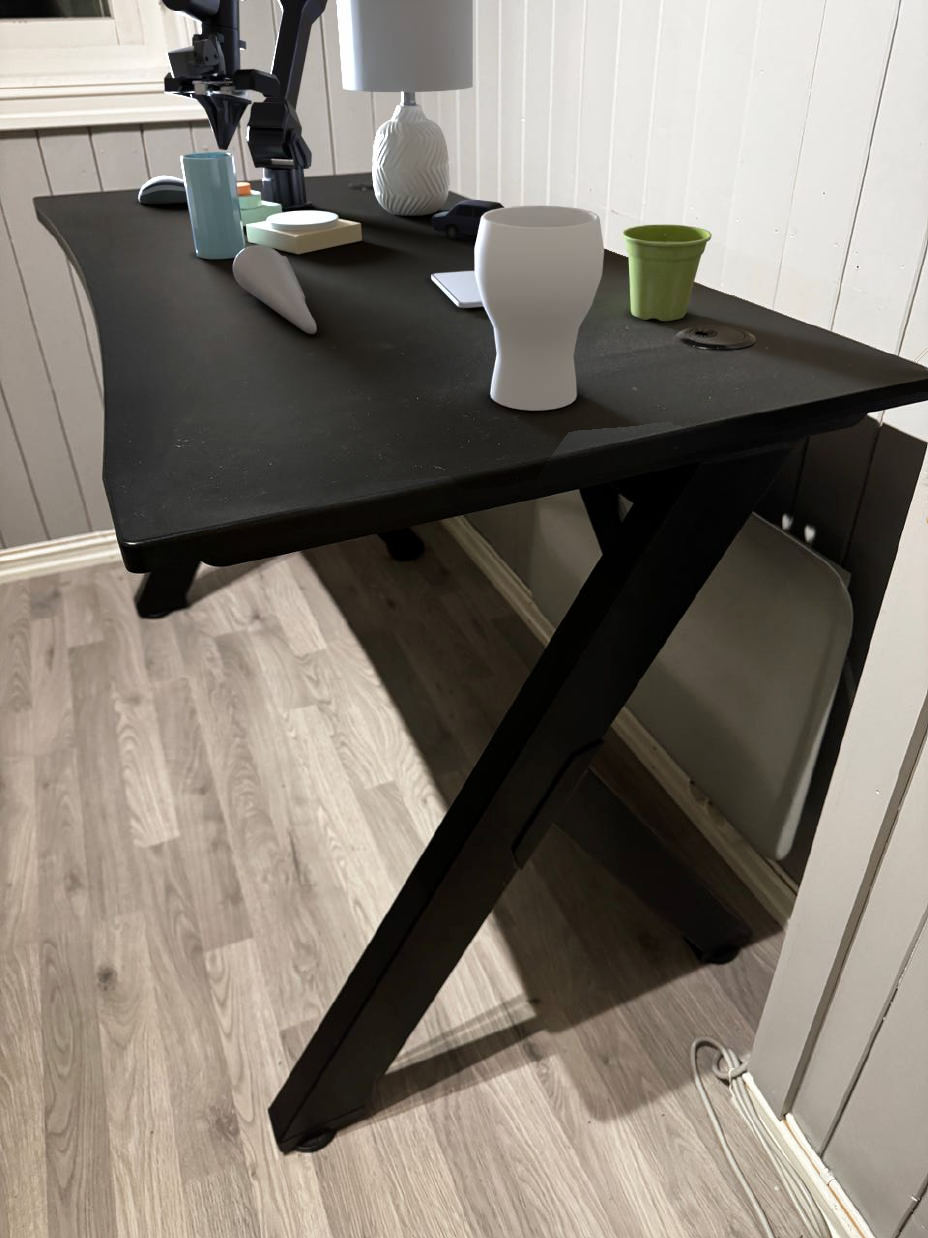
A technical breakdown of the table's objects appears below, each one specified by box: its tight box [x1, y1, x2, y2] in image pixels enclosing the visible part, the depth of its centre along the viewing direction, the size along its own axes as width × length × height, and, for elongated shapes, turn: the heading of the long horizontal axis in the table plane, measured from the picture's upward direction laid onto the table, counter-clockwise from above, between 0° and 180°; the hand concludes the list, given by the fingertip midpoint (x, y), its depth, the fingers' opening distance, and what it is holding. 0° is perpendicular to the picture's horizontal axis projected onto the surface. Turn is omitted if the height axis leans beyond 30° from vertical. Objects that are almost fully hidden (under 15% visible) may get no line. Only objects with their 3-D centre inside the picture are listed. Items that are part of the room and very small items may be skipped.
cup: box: [474, 204, 605, 411], centre depth 77 cm, size 11×11×15 cm
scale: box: [245, 210, 363, 255], centre depth 133 cm, size 12×12×3 cm
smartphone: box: [430, 269, 484, 309], centre depth 110 cm, size 7×1×15 cm
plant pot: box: [621, 223, 713, 322], centre depth 99 cm, size 9×9×9 cm
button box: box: [239, 189, 283, 227], centre depth 146 cm, size 10×8×4 cm
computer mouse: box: [138, 175, 188, 205], centre depth 161 cm, size 7×12×4 cm, turn 102°
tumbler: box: [179, 151, 247, 260], centre depth 125 cm, size 7×7×12 cm
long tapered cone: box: [232, 244, 317, 335], centre depth 102 cm, size 6×6×19 cm
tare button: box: [237, 182, 252, 196], centre depth 145 cm, size 4×4×2 cm
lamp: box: [336, 0, 474, 217], centre depth 142 cm, size 20×20×37 cm
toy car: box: [430, 199, 506, 240], centre depth 134 cm, size 6×15×5 cm, turn 61°
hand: (222, 149), depth 137 cm, fingers closed
